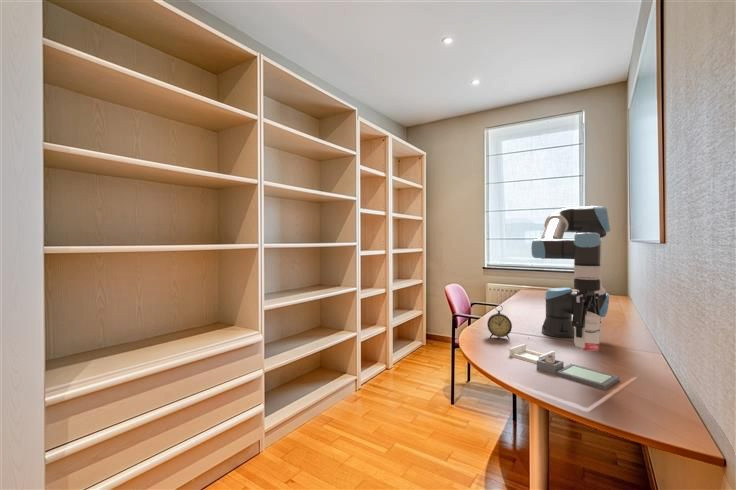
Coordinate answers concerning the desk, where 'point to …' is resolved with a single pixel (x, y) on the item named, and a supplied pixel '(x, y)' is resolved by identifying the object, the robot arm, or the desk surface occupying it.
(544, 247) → the robot arm
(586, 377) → the pale green panel
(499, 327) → the alarm clock
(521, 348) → the trough
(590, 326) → the ink box
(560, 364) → the cup
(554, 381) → the desk surface
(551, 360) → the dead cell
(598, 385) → the base
